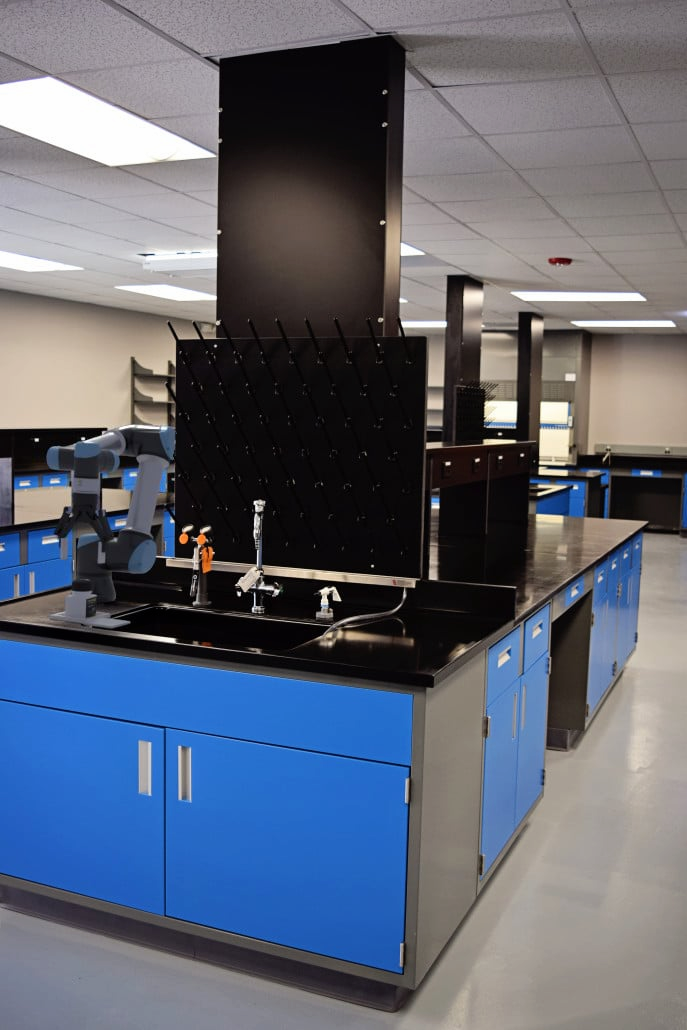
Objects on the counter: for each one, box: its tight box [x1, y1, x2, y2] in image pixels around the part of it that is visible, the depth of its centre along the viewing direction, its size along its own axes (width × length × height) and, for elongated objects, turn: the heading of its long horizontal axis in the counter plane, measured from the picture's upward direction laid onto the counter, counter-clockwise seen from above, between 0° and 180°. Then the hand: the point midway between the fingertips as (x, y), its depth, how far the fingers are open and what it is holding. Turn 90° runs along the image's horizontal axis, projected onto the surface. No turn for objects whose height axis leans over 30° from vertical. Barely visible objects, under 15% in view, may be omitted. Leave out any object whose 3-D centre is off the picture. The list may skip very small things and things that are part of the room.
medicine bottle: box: [64, 578, 98, 618], centre depth 291 cm, size 7×7×12 cm
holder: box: [49, 611, 112, 624], centre depth 292 cm, size 13×13×1 cm
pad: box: [82, 618, 131, 629], centre depth 285 cm, size 10×10×1 cm
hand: (82, 561), depth 290 cm, fingers open, 13 cm apart
